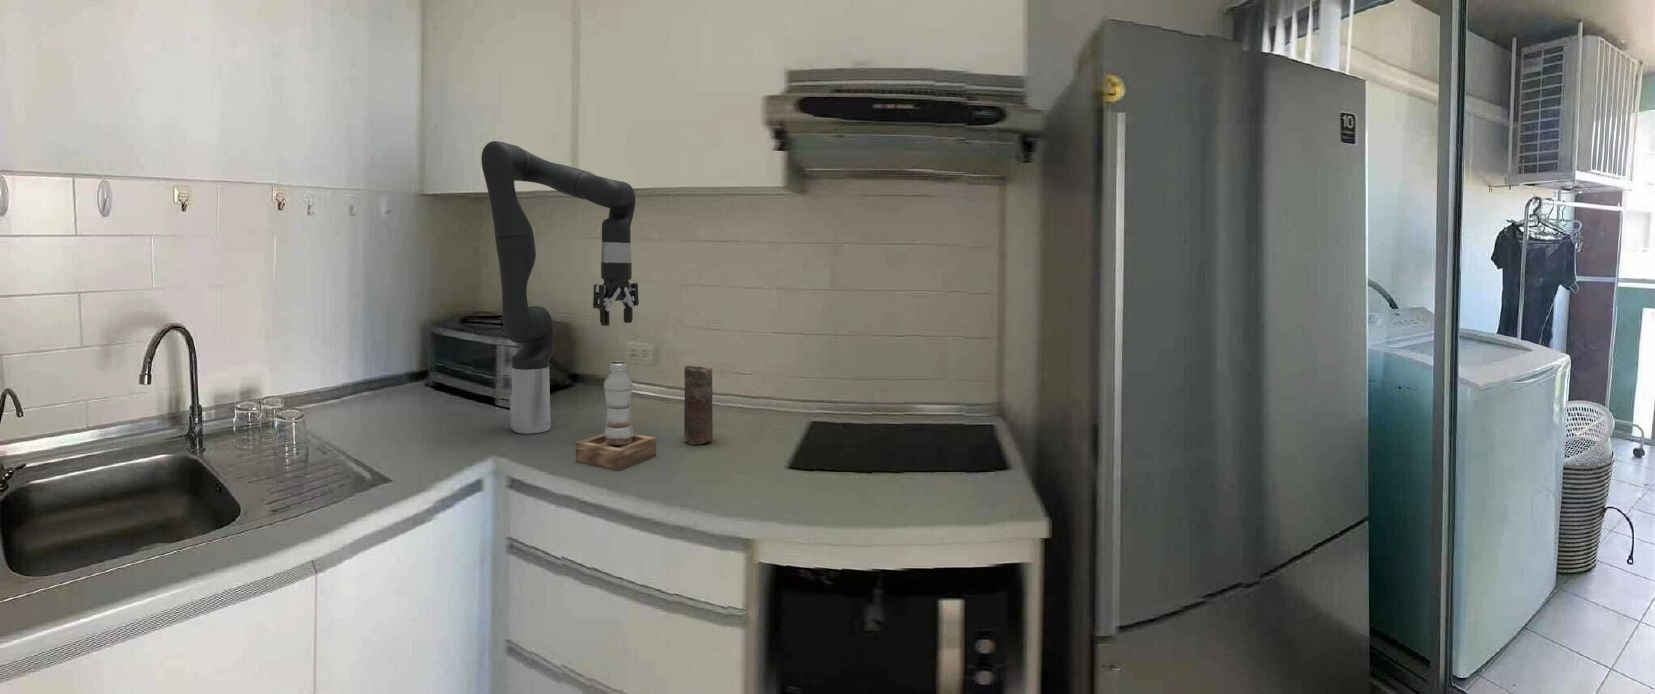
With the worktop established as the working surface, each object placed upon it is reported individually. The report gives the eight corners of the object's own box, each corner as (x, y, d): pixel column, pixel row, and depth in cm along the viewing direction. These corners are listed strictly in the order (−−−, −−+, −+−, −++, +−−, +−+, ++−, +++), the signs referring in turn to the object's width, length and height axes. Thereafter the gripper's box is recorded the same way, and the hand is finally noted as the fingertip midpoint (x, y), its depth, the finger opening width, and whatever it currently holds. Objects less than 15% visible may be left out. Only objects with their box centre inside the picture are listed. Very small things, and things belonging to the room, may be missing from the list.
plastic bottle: (625, 450, 163) (625, 365, 160) (598, 447, 164) (598, 363, 162) (638, 442, 169) (638, 361, 167) (612, 440, 171) (612, 359, 168)
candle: (681, 438, 185) (681, 364, 182) (708, 436, 188) (709, 363, 185) (687, 446, 178) (688, 369, 175) (715, 444, 181) (716, 368, 178)
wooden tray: (575, 461, 163) (575, 442, 163) (614, 447, 175) (613, 430, 174) (619, 470, 158) (619, 451, 157) (656, 455, 170) (656, 437, 169)
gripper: (623, 260, 185) (623, 320, 188) (584, 260, 173) (585, 325, 175) (646, 261, 182) (646, 323, 185) (608, 261, 170) (608, 327, 172)
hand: (616, 324), depth 180 cm, fingers open, 8 cm apart
